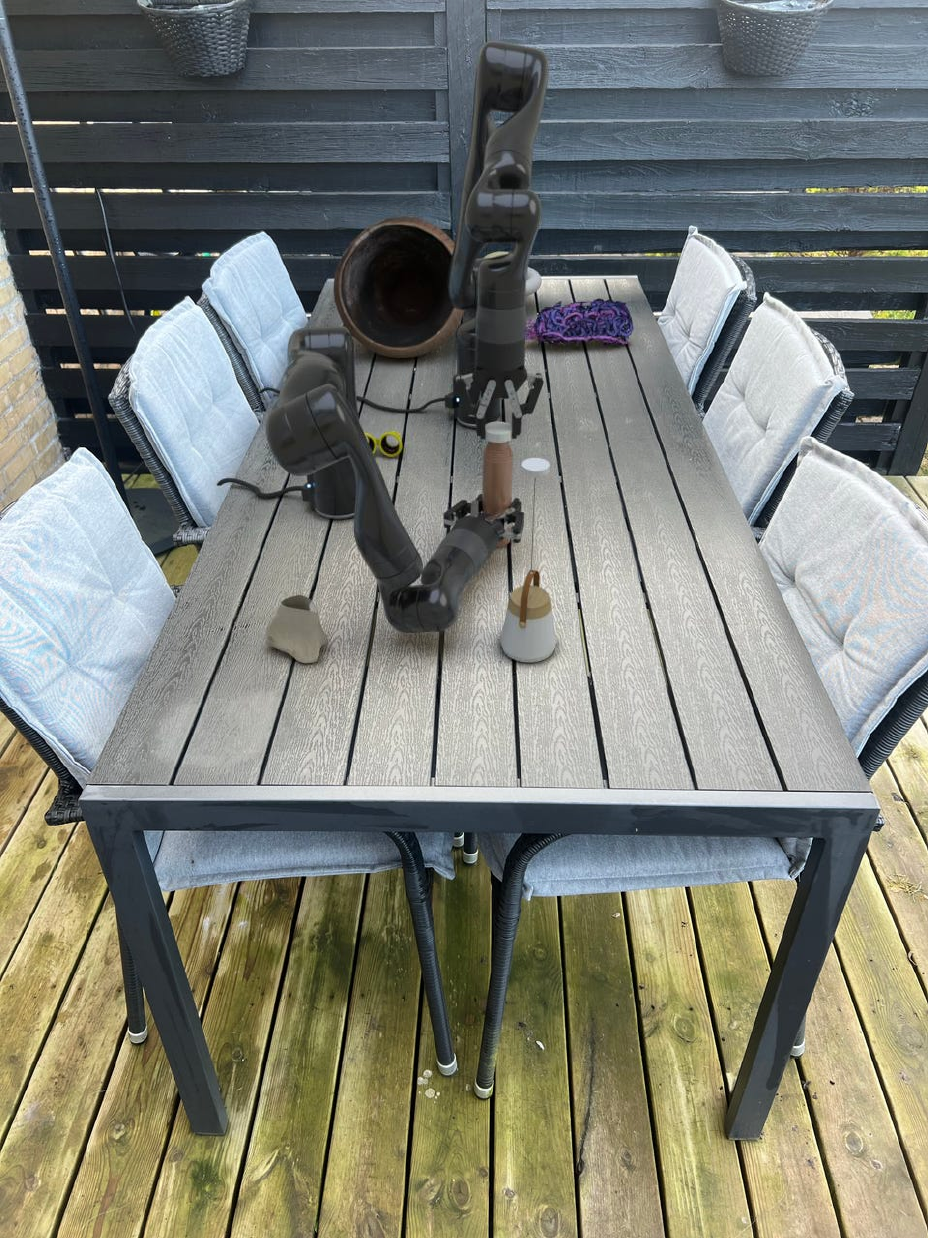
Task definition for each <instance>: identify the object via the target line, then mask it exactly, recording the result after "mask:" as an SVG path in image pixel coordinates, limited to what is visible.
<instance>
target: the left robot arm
mask: <svg viewBox="0 0 928 1238" xmlns="http://www.w3.org/2000/svg"><path fill="white" fill-rule="evenodd" d="M286 350H287V351H286V352H287V353H286V354H287V355H286V361H287V362H286V363H287V364H286V369H285V371H284V374H283V377H282V381H281V386H280V390H279V391H280V394H279V395H278V396H277V397H278V398H277V400H276V401H275V403H274V404H273V406H272V407H271V408H270V410H269V411H268V413H267V415H266V418H265V435H266V440H267V444H268V447H269V450H270V452H271V454H272V456H273V458H274V460H275V462H276V463H277V464H278V465H279V466H280V467H281V468H282V469H283V470H284V471H286V472H287V473H288V474H290V475H293V476H295V477H305V476H306V482H305V483H304V484H303V485H293V486H288V487H285V488H283V489H280V490H277V491H272V492H262V491H261V490H260V488H259V487H258V486H256V485H254V484H252V483H250V482H249V481H246V480H242V479H239V478H235V477H225V478H222V479H220V480H219V481H217V483H216V486H217V487H221V486H223V485H224V484H228V483H229V484H230V483H232V484H237V485H240V486H243V487H245V488H247V489H249V490H251V491H254V492H255V494H256V495H257V497H259V498H262V499H272V498H275V497H280V496H283V495H286V494H288V493H290V492H301V500H302V502H306V503H309V505H310V510H311V511H314V512H316V514H318V515H319V516H320V517H322V518H325V519H329V520H346V519H351V518H353V524H352V525H353V527H352V528H353V537H354V541H355V544H356V547H357V550H358V552H359V554H360V555H361V557H362V559H363V560H364V563H365V564H366V565H367V567H368V569H369V570H370V572H371V574H372V575H373V577H374V578H375V580H376V583H377V587H378V592H379V594H380V598H381V602H382V607H383V611H384V615H385V618H386V620H387V622H388V624H389V625H390V626H391V627H392V628H393V629H394V630H396V631H397V632H399V633H402V634H424V633H425V634H427V633H440V632H444V631H446V630H448V629H450V628H451V627H452V626H454V624H456V622H457V620H458V618H459V616H460V610H461V604H462V600H463V597H464V593H465V590H466V588H467V587H468V585H469V584H470V583H471V581H472V579H474V577H476V576H477V575H478V574H479V572H480V571H481V569H483V567H484V566H485V565H486V562H487V561H488V560H489V558H490V556H491V555H492V554H493V552H494V551H495V549H496V548H497V547H496V545H497V543H498V542H500V541H502V540H503V539H504V538H511V539H512V542H513V543H514V544H520V543H521V541H522V537H523V536H522V535H523V531H524V527H525V512H523V511H522V505H523V503H522V501H521V498H519V497H514V499H512V503H511V505H510V506H509V508H508V509H507V510H505V511H499V512H497V513H496V514H494V515H487V514H484V513H482V493H480V494H478V495H477V497H476V498H475V499H473V500H471V502H468V501H467V500H466V499H461V500H460V501H459V502H457V503H455V504H454V505H453V506H452V507H450V508H448V509H447V510H445V512H443V515H442V517H443V519H442V520H443V521H442V522H443V528H444V529H450V530H449V531H448V532H447V534H446V535H445V537H444V538H443V539H442V540H441V542H440V543H439V544H438V546H437V548H436V551H435V552H434V553H433V555H432V556H431V557H430V558H429V560H428V561H427V562H426V564H425V565H424V562H423V559H422V557H421V555H420V553H419V551H418V549H417V547H416V546H415V544H414V541H413V540H412V538H411V536H410V535H409V533H408V531H407V529H406V527H405V526H404V524H403V522H402V520H401V518H400V516H399V514H398V511H397V510H396V507H395V506H394V505H395V504H394V503H393V499H392V498H391V495H390V492H389V489H388V487H387V485H386V482H385V479H384V477H383V474H382V472H381V470H380V469H381V468H380V467H379V465H378V462H377V460H376V458H375V456H374V455H375V454H373V453H372V450H371V448H370V445H369V440H368V437H367V436H365V434H364V433H365V431H364V429H363V427H362V425H361V422H360V419H359V418H360V417H359V409H358V408H359V407H358V401H357V400H358V399H356V396H357V385H356V383H357V382H356V354H355V352H356V351H355V343H354V338H353V337H352V335H351V332H350V331H349V329H348V328H347V327H345V325H344V326H343V325H334V326H333V325H331V326H330V325H329V326H311V327H301V328H297V329H295V330H293V332H292V333H291V334H290V335H289V338H288V342H287V349H286ZM468 514H469V515H468ZM507 518H508V519H507ZM510 525H511V527H510V528H509V529H508V530H507V527H508V526H510ZM419 578H420V583H421V584H414V583H415V582H416V581H417V580H419Z"/></svg>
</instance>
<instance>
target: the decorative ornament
mask: <svg viewBox="0 0 928 1238" xmlns="http://www.w3.org/2000/svg"><path fill="white" fill-rule="evenodd" d="M562 302H563V301H562V300H560V301H558V302H556V303H555V304H554V305H553V306H545V307H544V308H542V309H541V310H540V311H539V312H538V317H536V319H535V321H534V322H532V317H529V318H528V321H526V327H527V331H526V340H525V344H526V343H528V341H530V343H531V342H533V341H536V342H538V344H537V346H538V347H540V345H542V343H547V344H548V345H550V346H560V344H562V345H564V346H565V345H568V344H569V343H571V344H575V346H576V347H578V344H579V343H580V342H587V343H589V342H593V341H595V342H596V341H602V342H603V345H604V346H611V345H621V346H625V345H629V341H628V340H630V336H632V334H633V331H634V323H633V317H632V316H631V313H630V310H629V308H628V307H627V302H623V301H618V300H611V299H607V300H604V299H603V298H595V299H593V301H589V305H583V304H586V303H588V301H574V302H571V303H569V304H566V305H564V306H562ZM561 306H562V307H561ZM527 340H528V341H527Z"/></svg>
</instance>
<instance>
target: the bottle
mask: <svg viewBox="0 0 928 1238" xmlns="http://www.w3.org/2000/svg"><path fill="white" fill-rule="evenodd" d="M509 443H510V441H508V442H504V443H493V442H489V441H487V444H486V445H485V447H484V450H483V452H482V467H481V470H482V475H481V476H482V477H481V481H482V483H481V484H482V485H481V494H482V512H481V513H484V514H487V515H494V514H496V513H497V512H499V511H505V510H507V509H508V508H509V506H510V505H511V503H512V502H513V473H514V472H513V471H514V452H513V450H512V448H511V447H512V446H511V445H510V444H509ZM507 519H508V518H507ZM510 527H512V525H510V526H508V527H507V530H508V529H509V528H510ZM511 539H512V538H504V539H503V540H502V541H500V542H498V543H497V545H496V547H495V548H502V547H505V546H508V545H509V543H510V542H511Z"/></svg>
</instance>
